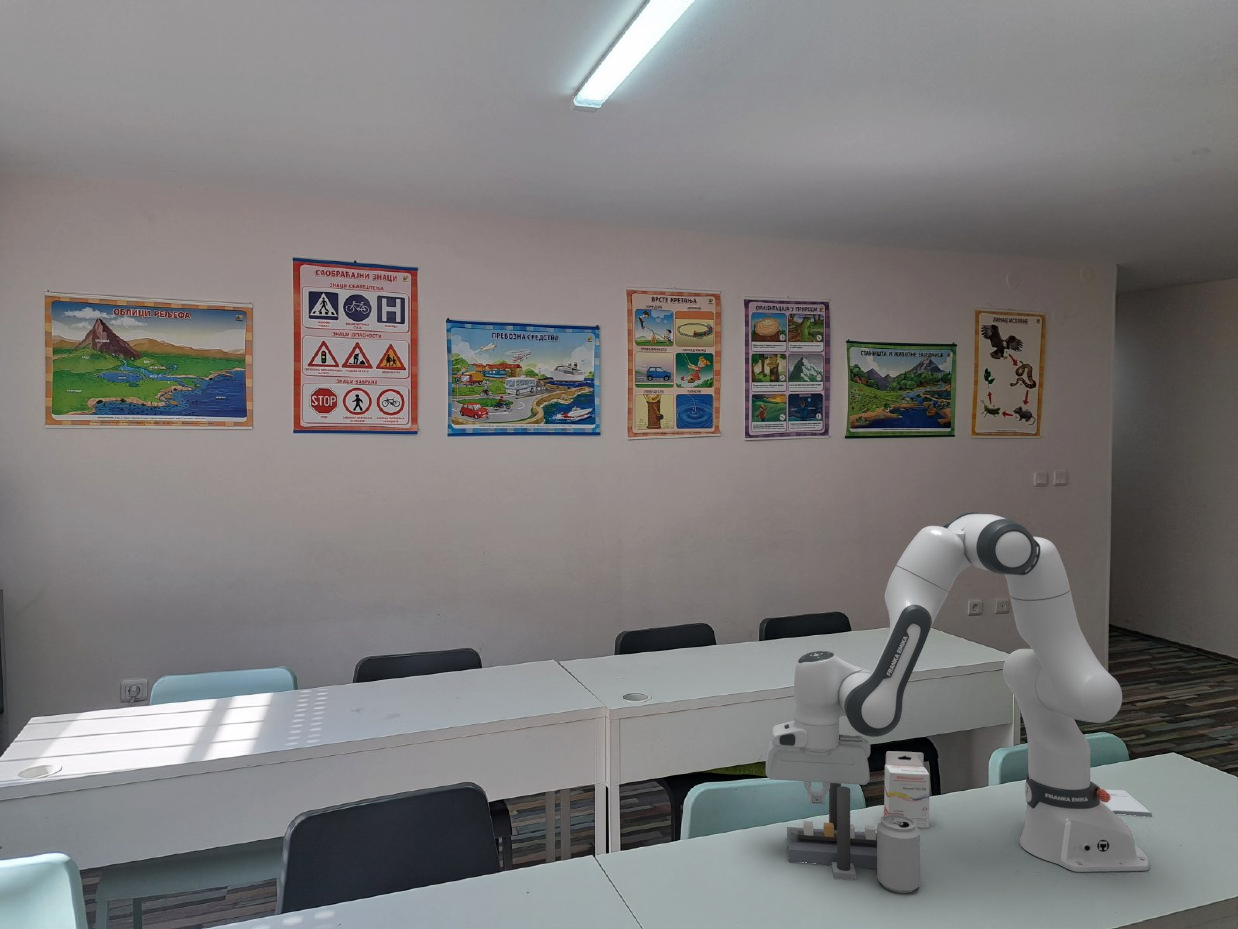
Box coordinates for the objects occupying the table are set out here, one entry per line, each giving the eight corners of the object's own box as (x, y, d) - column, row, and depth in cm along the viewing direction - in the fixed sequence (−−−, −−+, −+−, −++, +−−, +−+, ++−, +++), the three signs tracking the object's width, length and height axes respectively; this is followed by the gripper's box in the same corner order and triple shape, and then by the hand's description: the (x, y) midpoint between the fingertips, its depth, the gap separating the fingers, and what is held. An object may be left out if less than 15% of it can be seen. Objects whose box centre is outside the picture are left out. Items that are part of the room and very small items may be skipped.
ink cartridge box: (888, 827, 175) (889, 758, 175) (883, 817, 180) (883, 750, 180) (930, 828, 175) (930, 760, 174) (923, 818, 179) (923, 751, 179)
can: (914, 899, 146) (914, 832, 146) (872, 888, 150) (872, 823, 150) (923, 881, 153) (923, 817, 153) (882, 870, 157) (882, 808, 156)
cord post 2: (853, 869, 157) (853, 785, 157) (855, 880, 153) (855, 793, 153) (831, 868, 158) (831, 784, 158) (833, 878, 154) (833, 792, 154)
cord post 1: (843, 832, 173) (843, 755, 173) (845, 841, 169) (846, 762, 169) (824, 831, 173) (824, 754, 173) (826, 839, 169) (826, 761, 169)
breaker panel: (886, 846, 167) (886, 826, 167) (895, 870, 157) (895, 849, 157) (786, 839, 170) (786, 819, 170) (789, 862, 160) (789, 841, 160)
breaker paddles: (879, 840, 163) (879, 826, 163) (881, 844, 161) (881, 830, 161) (797, 834, 165) (797, 820, 165) (798, 838, 163) (798, 824, 163)
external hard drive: (1112, 817, 181) (1088, 794, 194) (1152, 819, 180) (1126, 796, 193) (1112, 810, 181) (1088, 788, 194) (1152, 812, 180) (1126, 789, 193)
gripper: (868, 731, 165) (868, 799, 165) (765, 726, 169) (765, 793, 169) (872, 741, 159) (872, 812, 159) (765, 736, 162) (766, 806, 162)
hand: (816, 802), depth 164 cm, fingers closed
